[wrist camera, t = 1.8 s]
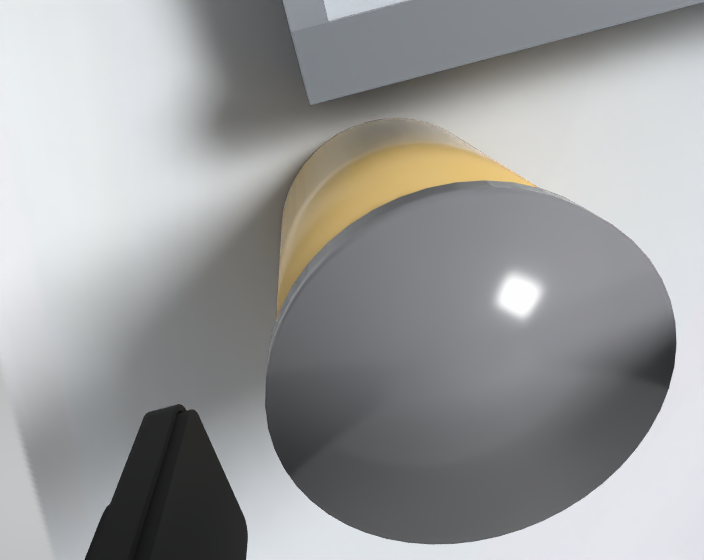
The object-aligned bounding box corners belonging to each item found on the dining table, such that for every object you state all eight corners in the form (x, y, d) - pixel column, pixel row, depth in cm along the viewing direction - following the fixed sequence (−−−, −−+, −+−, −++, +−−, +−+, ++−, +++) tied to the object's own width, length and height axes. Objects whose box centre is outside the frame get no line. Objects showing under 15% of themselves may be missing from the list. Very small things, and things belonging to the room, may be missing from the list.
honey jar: (246, 149, 14) (201, 266, 7) (485, 86, 14) (682, 139, 7) (312, 351, 17) (327, 580, 10) (511, 298, 17) (672, 491, 10)
